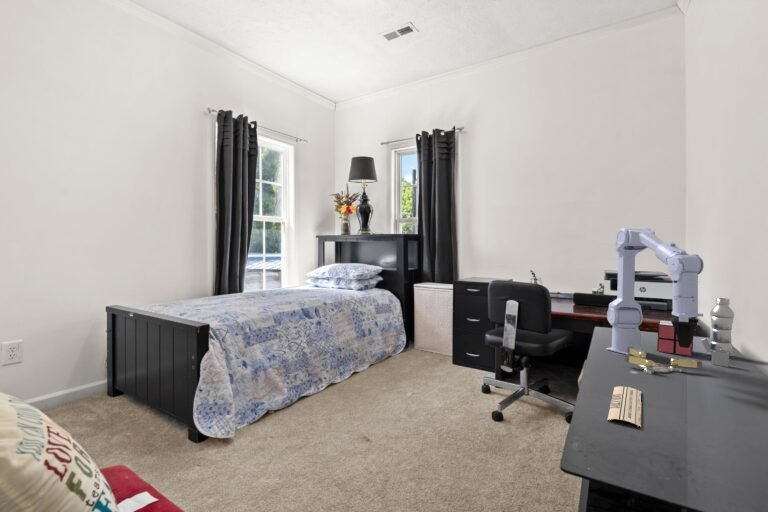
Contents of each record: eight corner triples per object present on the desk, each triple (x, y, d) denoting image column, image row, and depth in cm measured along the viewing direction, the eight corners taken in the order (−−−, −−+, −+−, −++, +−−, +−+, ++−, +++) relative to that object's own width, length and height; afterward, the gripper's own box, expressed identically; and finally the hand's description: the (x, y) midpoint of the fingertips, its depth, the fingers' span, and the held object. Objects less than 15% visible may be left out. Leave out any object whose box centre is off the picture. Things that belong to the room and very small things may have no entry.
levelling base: (641, 360, 128) (641, 356, 128) (684, 371, 118) (684, 366, 118) (618, 365, 122) (618, 361, 122) (661, 377, 112) (661, 372, 112)
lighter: (728, 366, 124) (729, 341, 124) (728, 367, 123) (729, 342, 123) (700, 361, 129) (701, 337, 129) (699, 362, 128) (700, 337, 128)
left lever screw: (672, 365, 118) (672, 359, 118) (669, 363, 120) (669, 357, 120) (702, 368, 116) (702, 362, 116) (698, 366, 118) (699, 360, 117)
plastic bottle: (704, 353, 138) (706, 297, 138) (714, 352, 141) (716, 297, 141) (726, 358, 133) (728, 300, 132) (736, 356, 136) (739, 299, 135)
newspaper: (640, 432, 79) (641, 423, 79) (601, 423, 83) (601, 415, 83) (641, 396, 99) (641, 389, 99) (609, 390, 103) (609, 383, 103)
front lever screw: (654, 367, 116) (654, 361, 116) (650, 368, 115) (651, 361, 115) (628, 360, 122) (628, 354, 122) (624, 361, 121) (624, 355, 121)
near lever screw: (647, 359, 124) (647, 353, 124) (640, 358, 125) (641, 353, 124) (632, 352, 132) (632, 346, 132) (626, 352, 132) (626, 346, 132)
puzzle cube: (692, 357, 134) (693, 328, 134) (657, 351, 140) (658, 324, 140) (691, 351, 142) (693, 323, 142) (658, 346, 148) (659, 320, 148)
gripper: (702, 299, 102) (702, 351, 102) (703, 296, 113) (704, 343, 113) (669, 297, 107) (669, 347, 106) (673, 295, 118) (673, 340, 118)
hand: (685, 345), depth 110 cm, fingers open, 7 cm apart
